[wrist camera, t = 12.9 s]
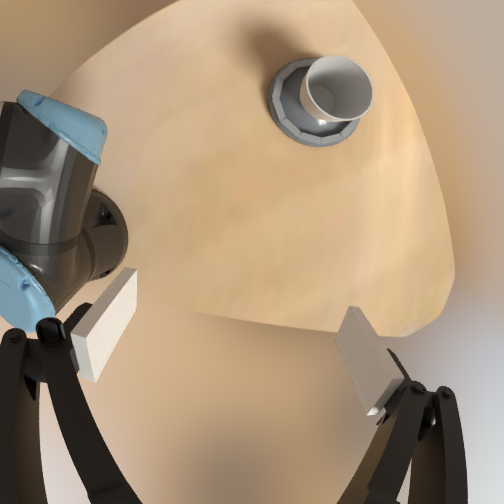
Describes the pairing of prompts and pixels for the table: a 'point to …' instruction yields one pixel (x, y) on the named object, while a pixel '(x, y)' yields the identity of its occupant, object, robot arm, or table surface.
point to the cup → (336, 89)
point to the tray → (302, 110)
